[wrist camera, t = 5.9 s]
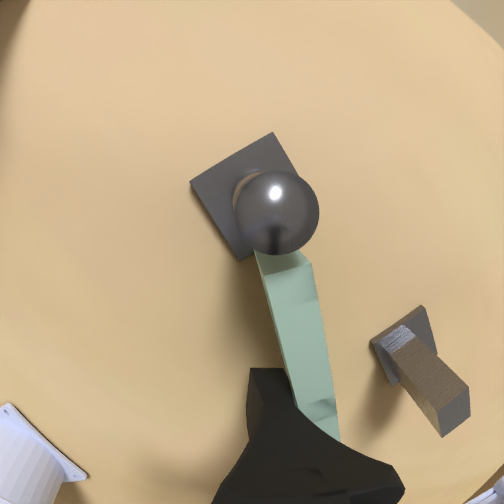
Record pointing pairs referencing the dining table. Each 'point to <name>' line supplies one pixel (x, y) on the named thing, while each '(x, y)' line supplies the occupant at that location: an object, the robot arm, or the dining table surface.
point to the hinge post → (259, 200)
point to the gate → (300, 335)
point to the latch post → (423, 371)
